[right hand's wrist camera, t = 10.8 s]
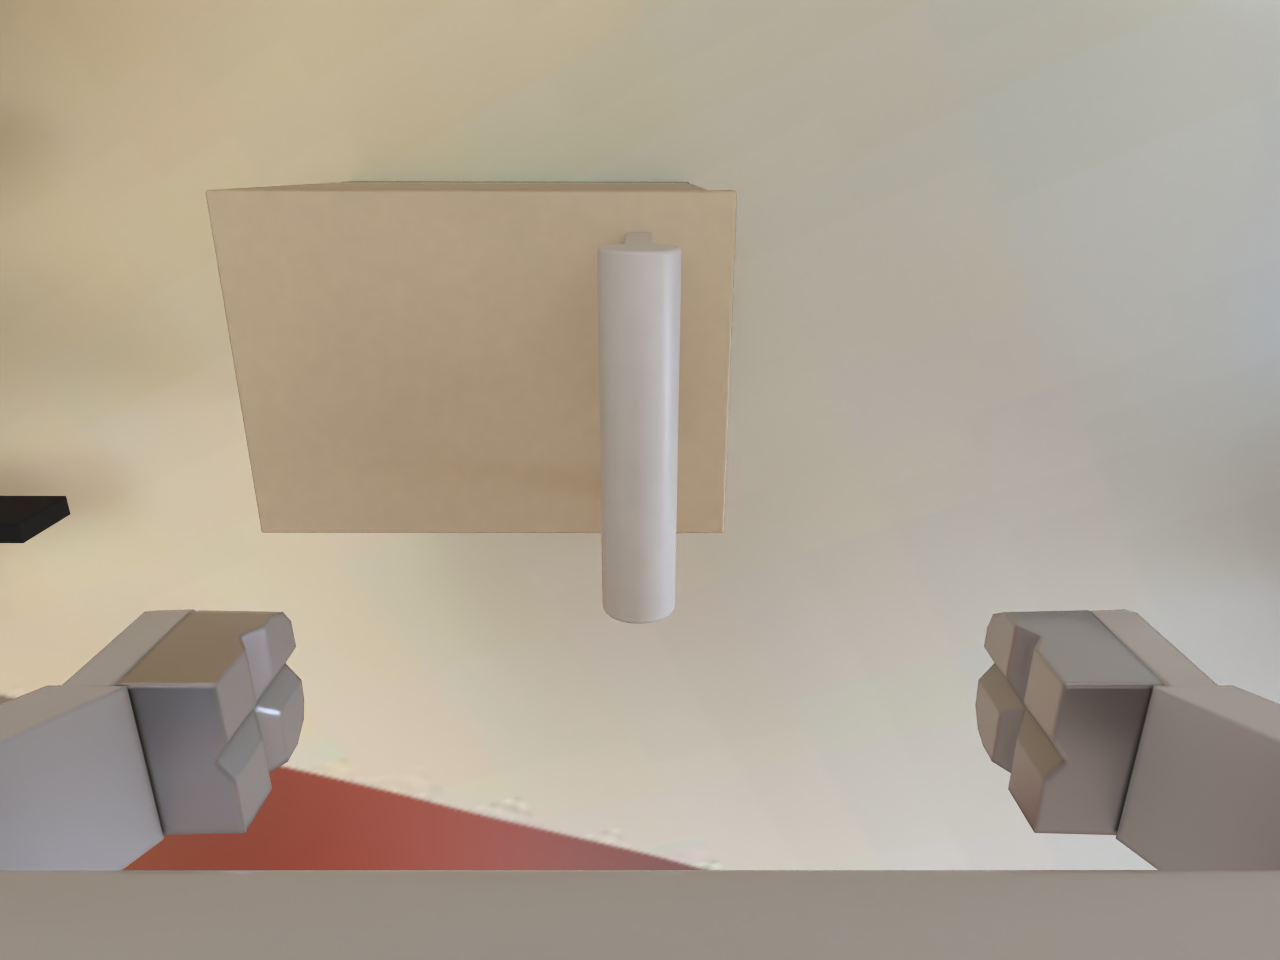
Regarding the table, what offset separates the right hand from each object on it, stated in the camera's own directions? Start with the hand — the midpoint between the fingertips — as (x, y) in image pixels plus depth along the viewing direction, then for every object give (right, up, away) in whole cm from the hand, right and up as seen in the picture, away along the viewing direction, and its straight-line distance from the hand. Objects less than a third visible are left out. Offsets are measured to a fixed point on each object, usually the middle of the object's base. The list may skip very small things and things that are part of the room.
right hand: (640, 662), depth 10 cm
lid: (-4, +5, +15) cm, 16 cm away
